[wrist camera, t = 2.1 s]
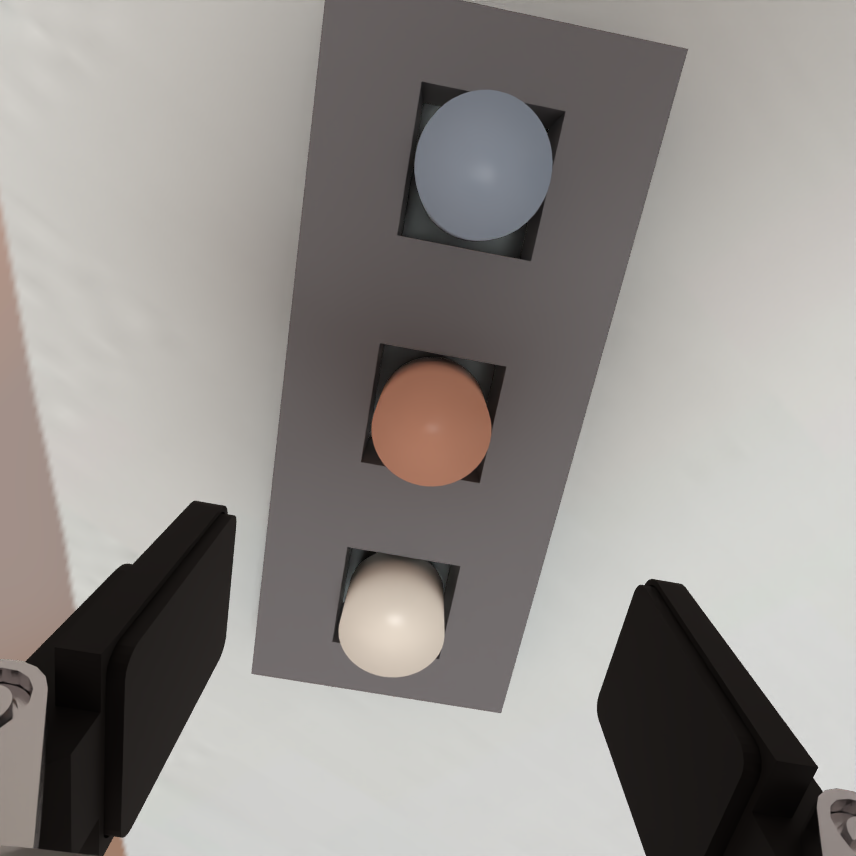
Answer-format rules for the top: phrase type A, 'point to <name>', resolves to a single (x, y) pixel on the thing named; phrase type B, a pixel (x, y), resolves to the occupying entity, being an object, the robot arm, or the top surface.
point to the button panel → (447, 326)
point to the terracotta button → (431, 422)
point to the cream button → (393, 615)
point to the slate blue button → (483, 165)
